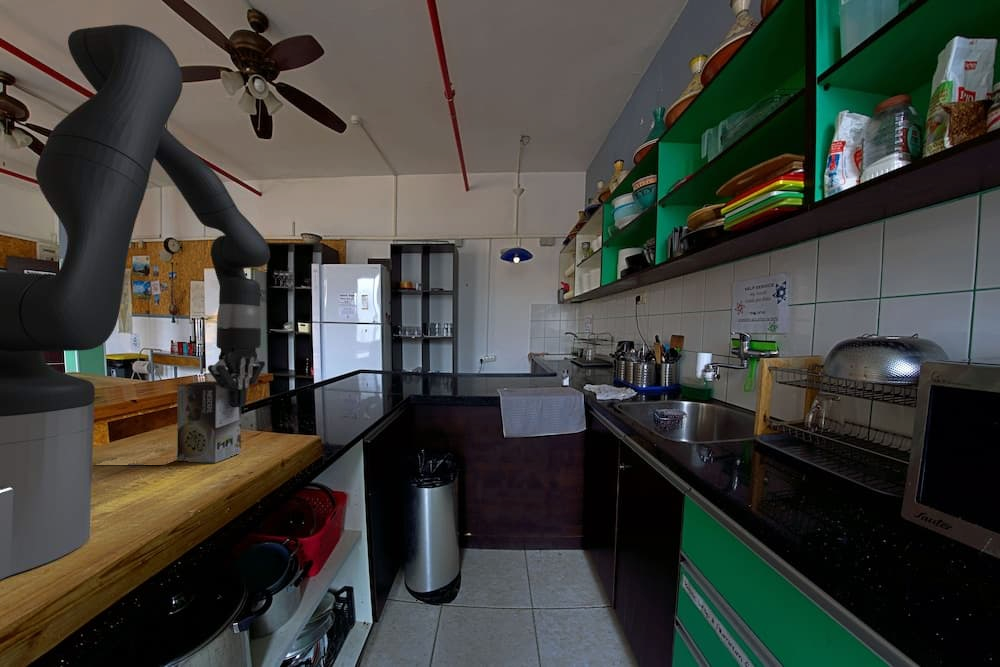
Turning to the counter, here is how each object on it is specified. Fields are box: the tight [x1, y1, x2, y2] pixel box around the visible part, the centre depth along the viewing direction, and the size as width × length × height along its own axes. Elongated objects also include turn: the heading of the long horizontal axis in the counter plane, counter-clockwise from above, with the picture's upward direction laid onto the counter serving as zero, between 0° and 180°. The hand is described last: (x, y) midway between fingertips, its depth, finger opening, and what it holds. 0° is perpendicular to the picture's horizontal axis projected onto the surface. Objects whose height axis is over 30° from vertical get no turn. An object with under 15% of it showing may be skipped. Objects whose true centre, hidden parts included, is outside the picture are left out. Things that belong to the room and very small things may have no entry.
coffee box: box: [176, 380, 242, 463], centre depth 71 cm, size 9×6×16 cm
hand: (237, 406), depth 71 cm, fingers closed
